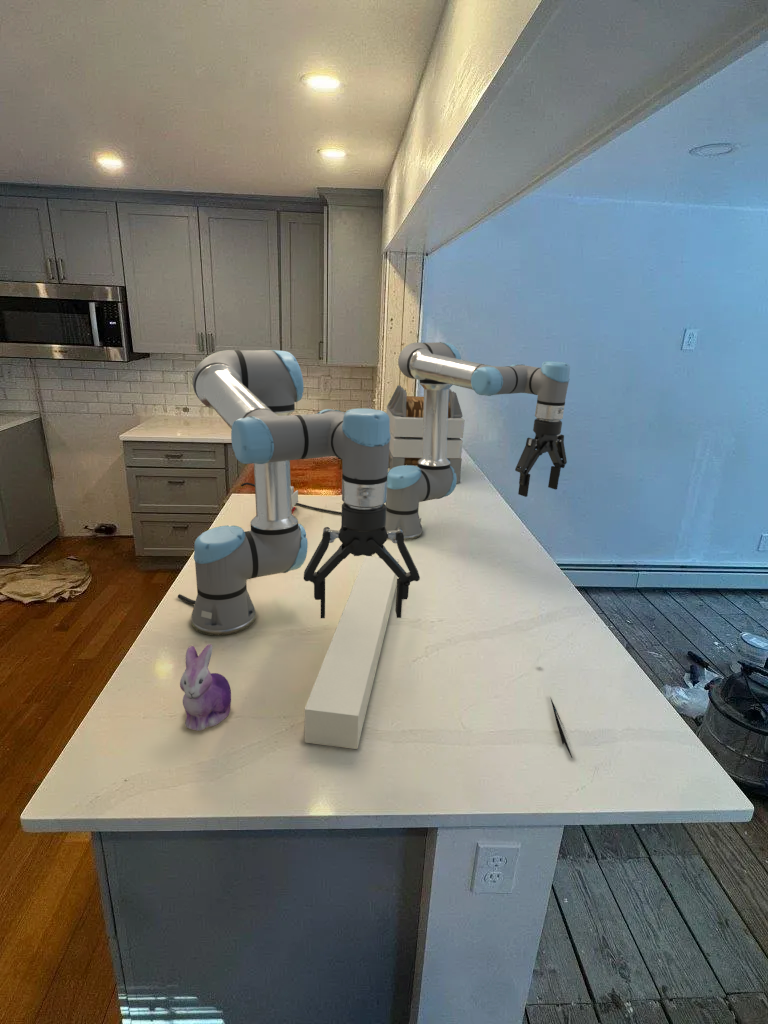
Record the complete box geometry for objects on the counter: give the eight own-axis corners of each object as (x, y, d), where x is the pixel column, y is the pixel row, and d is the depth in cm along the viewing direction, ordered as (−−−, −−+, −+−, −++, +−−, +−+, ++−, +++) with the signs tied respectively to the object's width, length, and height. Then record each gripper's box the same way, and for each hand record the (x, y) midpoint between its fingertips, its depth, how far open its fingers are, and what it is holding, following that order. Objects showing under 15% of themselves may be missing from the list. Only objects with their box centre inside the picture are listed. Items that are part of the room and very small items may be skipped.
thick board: (364, 578, 166) (365, 555, 163) (397, 581, 165) (398, 558, 162) (304, 742, 103) (304, 709, 100) (357, 749, 102) (358, 715, 99)
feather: (540, 672, 128) (545, 666, 127) (572, 762, 101) (579, 755, 101) (533, 668, 128) (539, 662, 127) (564, 758, 101) (571, 750, 100)
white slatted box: (382, 463, 289) (386, 382, 275) (445, 464, 293) (451, 384, 279) (390, 482, 257) (394, 392, 243) (460, 483, 261) (468, 394, 247)
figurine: (187, 740, 102) (180, 669, 97) (178, 706, 110) (171, 639, 105) (239, 725, 106) (236, 656, 101) (227, 693, 115) (223, 628, 109)
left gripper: (287, 509, 90) (289, 625, 98) (441, 511, 93) (432, 624, 100) (290, 495, 97) (292, 604, 105) (433, 497, 100) (425, 603, 107)
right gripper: (530, 425, 148) (519, 502, 155) (586, 418, 162) (574, 488, 169) (508, 420, 153) (499, 494, 160) (564, 413, 168) (553, 482, 175)
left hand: (360, 614), depth 102 cm, fingers open, 13 cm apart
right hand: (537, 491), depth 165 cm, fingers open, 13 cm apart
